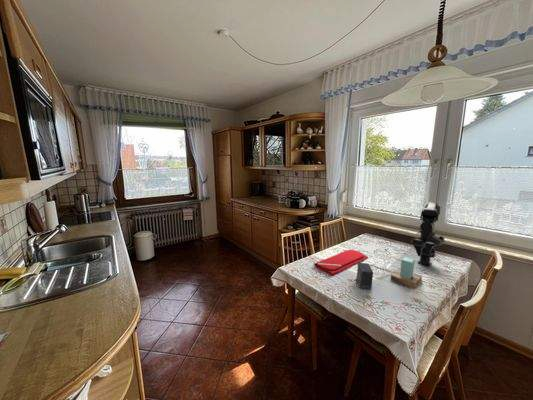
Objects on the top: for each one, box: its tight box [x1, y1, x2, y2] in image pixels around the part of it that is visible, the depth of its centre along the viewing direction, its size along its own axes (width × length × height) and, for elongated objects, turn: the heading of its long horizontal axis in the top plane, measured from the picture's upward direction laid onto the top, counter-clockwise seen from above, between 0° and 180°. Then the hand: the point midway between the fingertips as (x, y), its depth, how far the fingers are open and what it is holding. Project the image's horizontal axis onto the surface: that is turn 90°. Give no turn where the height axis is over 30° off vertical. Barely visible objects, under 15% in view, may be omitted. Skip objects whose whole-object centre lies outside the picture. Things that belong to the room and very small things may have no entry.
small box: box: [356, 262, 374, 290], centre depth 125 cm, size 11×6×10 cm, turn 168°
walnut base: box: [390, 268, 423, 290], centre depth 129 cm, size 12×12×3 cm
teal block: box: [400, 257, 416, 279], centre depth 128 cm, size 5×5×10 cm
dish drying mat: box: [313, 249, 369, 277], centre depth 152 cm, size 16×41×4 cm, turn 127°
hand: (423, 255), depth 133 cm, fingers open, 9 cm apart
